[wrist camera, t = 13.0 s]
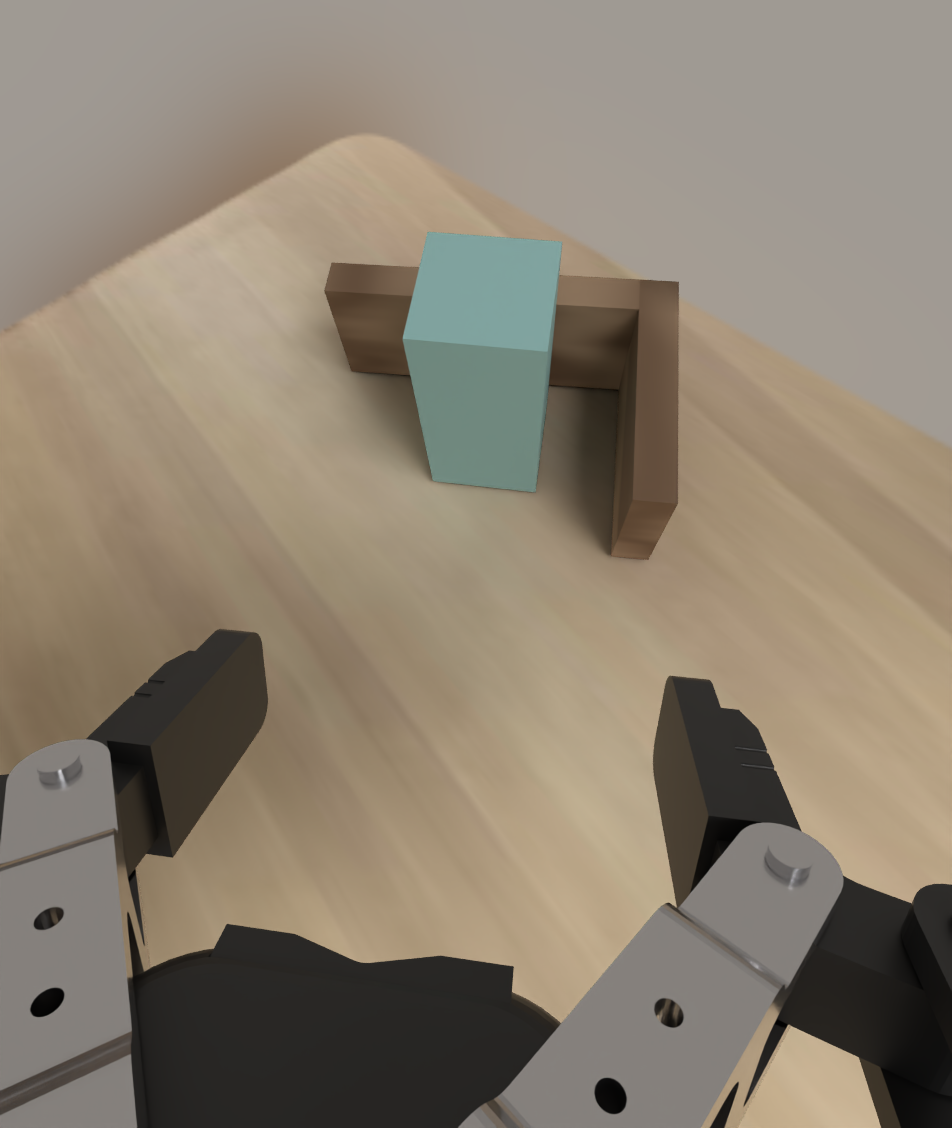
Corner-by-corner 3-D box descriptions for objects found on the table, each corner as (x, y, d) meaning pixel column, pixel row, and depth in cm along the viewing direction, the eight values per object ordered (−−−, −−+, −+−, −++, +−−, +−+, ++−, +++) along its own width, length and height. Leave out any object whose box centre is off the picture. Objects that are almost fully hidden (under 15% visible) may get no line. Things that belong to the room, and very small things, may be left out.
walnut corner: (652, 365, 30) (678, 281, 26) (648, 559, 27) (677, 503, 22) (357, 345, 32) (331, 262, 27) (315, 529, 28) (277, 470, 23)
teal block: (546, 405, 30) (562, 241, 22) (535, 492, 28) (547, 351, 20) (449, 395, 30) (427, 232, 22) (433, 480, 29) (402, 338, 20)
